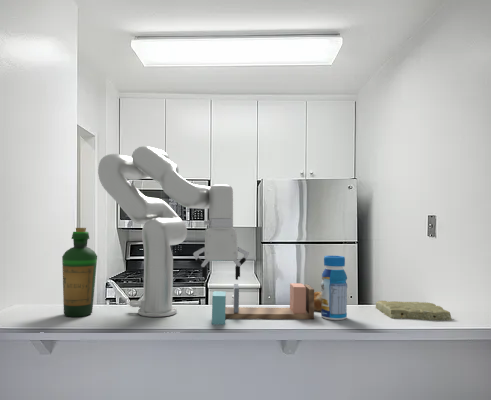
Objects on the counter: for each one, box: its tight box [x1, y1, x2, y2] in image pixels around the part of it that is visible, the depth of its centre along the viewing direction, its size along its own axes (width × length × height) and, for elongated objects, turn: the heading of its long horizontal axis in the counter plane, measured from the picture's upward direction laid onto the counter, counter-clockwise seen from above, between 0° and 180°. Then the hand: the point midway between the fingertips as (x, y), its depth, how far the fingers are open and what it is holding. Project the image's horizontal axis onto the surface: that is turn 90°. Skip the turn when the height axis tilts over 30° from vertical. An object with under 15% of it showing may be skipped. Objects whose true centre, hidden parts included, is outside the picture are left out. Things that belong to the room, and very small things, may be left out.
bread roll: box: [314, 291, 322, 312], centre depth 156 cm, size 10×10×8 cm
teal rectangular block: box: [211, 290, 227, 325], centre depth 135 cm, size 4×8×8 cm, turn 3°
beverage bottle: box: [320, 255, 348, 321], centre depth 142 cm, size 8×8×20 cm
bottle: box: [61, 227, 98, 318], centre depth 141 cm, size 11×11×28 cm
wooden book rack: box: [225, 283, 315, 320], centre depth 144 cm, size 28×10×10 cm, turn 93°
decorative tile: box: [375, 300, 452, 321], centre depth 150 cm, size 19×20×4 cm
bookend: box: [232, 283, 240, 313], centre depth 144 cm, size 2×9×8 cm, turn 3°
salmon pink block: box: [289, 282, 306, 314], centre depth 145 cm, size 4×8×8 cm, turn 2°
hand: (221, 279), depth 135 cm, fingers open, 9 cm apart
